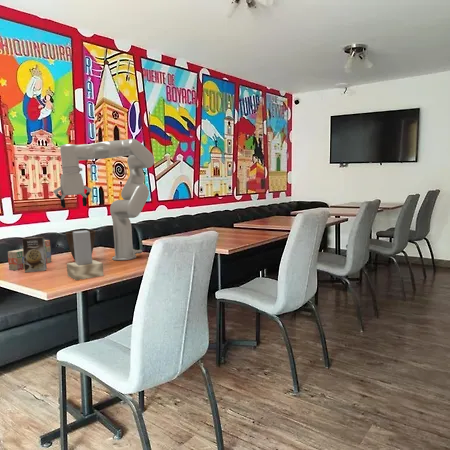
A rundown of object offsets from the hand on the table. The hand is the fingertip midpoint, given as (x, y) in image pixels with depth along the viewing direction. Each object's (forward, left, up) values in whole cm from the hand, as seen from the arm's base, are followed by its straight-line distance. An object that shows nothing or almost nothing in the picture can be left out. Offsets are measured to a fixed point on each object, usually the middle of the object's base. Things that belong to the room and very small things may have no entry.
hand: (74, 207), depth 199 cm
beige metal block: (+2, +19, -30) cm, 36 cm away
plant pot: (-6, -19, -30) cm, 36 cm away
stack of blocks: (+18, -26, -30) cm, 44 cm away
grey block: (+2, +19, -24) cm, 31 cm away
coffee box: (+18, -11, -30) cm, 37 cm away
